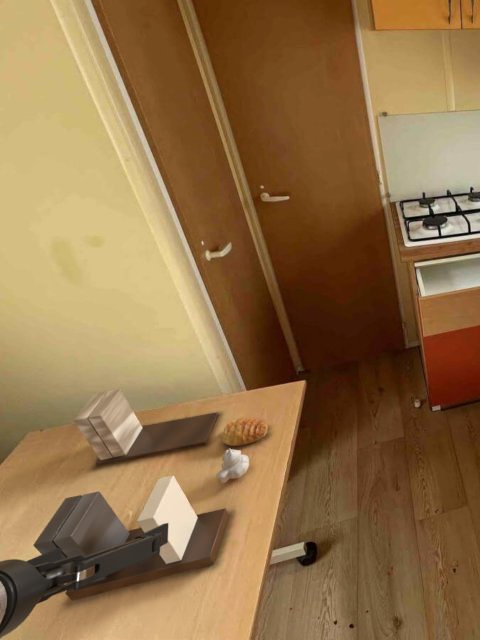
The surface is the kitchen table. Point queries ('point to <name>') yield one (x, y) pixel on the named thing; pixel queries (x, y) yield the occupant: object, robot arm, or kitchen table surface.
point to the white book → (169, 517)
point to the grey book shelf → (158, 566)
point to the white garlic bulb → (233, 465)
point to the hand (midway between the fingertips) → (113, 545)
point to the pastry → (243, 431)
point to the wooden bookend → (136, 430)
